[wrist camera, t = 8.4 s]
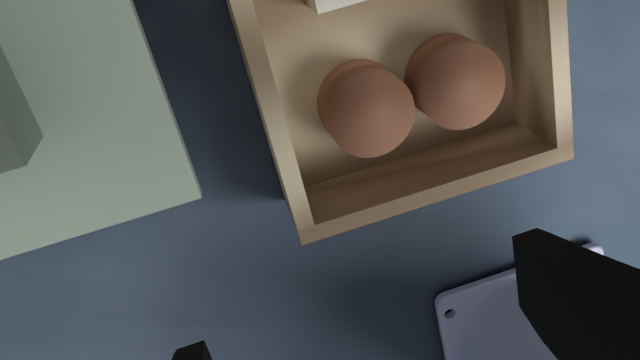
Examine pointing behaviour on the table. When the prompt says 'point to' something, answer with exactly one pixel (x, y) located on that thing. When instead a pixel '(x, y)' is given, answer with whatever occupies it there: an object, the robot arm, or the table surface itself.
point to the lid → (82, 123)
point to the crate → (403, 100)
